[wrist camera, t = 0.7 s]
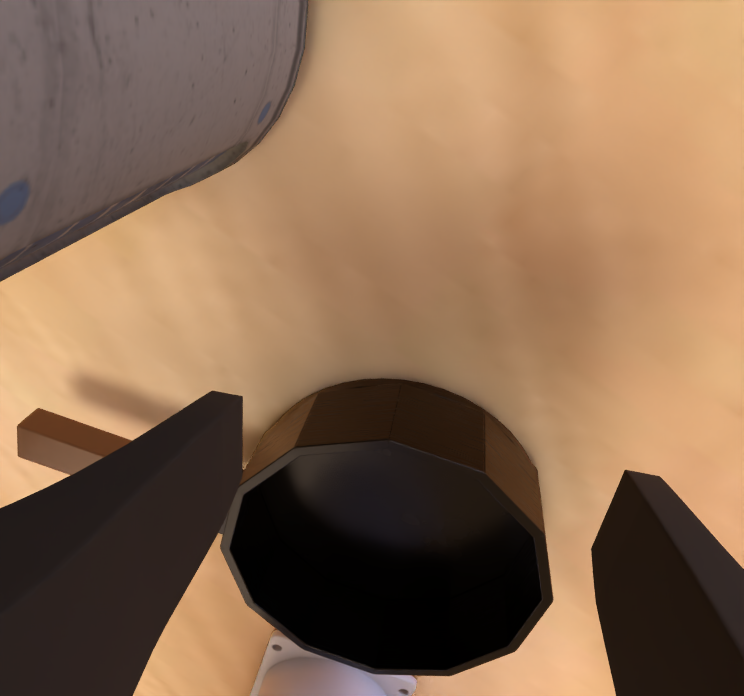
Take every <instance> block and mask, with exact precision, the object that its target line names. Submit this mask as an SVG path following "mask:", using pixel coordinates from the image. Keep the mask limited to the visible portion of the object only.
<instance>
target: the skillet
mask: <svg viewBox="0 0 744 696" xmlns="http://www.w3.org/2000/svg"><path fill="white" fill-rule="evenodd" d="M130 442H131V440H128V439H126V438H123V437H120V436H117V435H114V434H111V433H109V432H106V431H103V430H100V429H97V428H94V427H91V426H89V425H86V424H83V423H80V422H77V421H74V420H72V419H69V418H66V417H63V416H60V415H57V414H54V413H52V412H49V411H46V410H43V409H40V408H37V409H36V410H35V411H34V412H32V413H31V414H30V415H29V416H28V417H27V418H25V419H24V420H23V421H22V422H21V423H20V424H18V426H17V444H18V456H19V457H21V458H23V459H26V460H29V461H32V462H35V463H38V464H41V465H43V466H46V467H49V468H52V469H55V470H58V471H61V472H63V473H66V474H69V475H73V474H75V473H76V472H78V471H80V470H82V469H84V468H85V467H87V466H89V465H91V464H93V463H94V462H96V461H98V460H100V459H101V458H103V457H105V456H107V455H109V454H110V453H112V452H114V451H116V450H118V449H119V448H121V447H123V446H125V445H126V444H128V443H130ZM218 533H220V534H223V537H222V541H221V545H220V547H221V548H220V549H221V551H222V553H223V555H224V557H225V560H226V562H227V564H228V566H229V568H230V570H231V572H232V575H233V577H234V579H235V581H236V583H237V585H238V588H239V590H240V592H241V594H242V596H243V598H244V600H245V603H246V604H247V606H249V607H250V608H251V609H252V610H254V611H255V612H256V613H257V614H259V615H260V616H261V617H262V618H264V619H265V620H266V621H267V622H269V623H270V624H271V625H272V626H274V627H275V628H276V629H277V630H279V631H280V632H281V633H282V634H284V635H285V636H286V637H287V638H289V639H290V640H291V641H292V642H294V643H295V644H296V645H297V646H299V647H300V648H301V649H303V650H305V651H308V652H311V653H314V654H317V655H320V656H322V657H325V658H328V659H331V660H334V661H337V662H340V663H342V664H345V665H348V666H351V667H354V668H357V669H360V670H362V671H365V672H368V673H371V674H375V675H418V676H452V675H455V674H457V673H460V672H463V671H465V670H468V669H471V668H473V667H476V666H478V665H481V664H484V663H486V662H489V661H492V660H494V659H497V658H500V657H502V656H505V655H508V654H510V653H513V652H515V651H516V650H517V649H518V648H519V646H520V645H521V644H522V642H523V641H524V640H525V638H526V637H527V636H528V634H529V633H530V632H531V630H532V629H533V628H534V626H535V625H536V624H537V622H538V621H539V620H540V618H541V617H542V616H543V614H544V613H545V612H546V610H547V609H548V608H549V606H550V605H551V604H552V602H553V592H552V584H551V576H550V568H549V560H548V552H547V544H546V536H545V528H544V520H543V512H542V504H541V496H540V488H539V480H538V472H537V469H536V467H535V466H534V465H533V464H532V463H531V461H530V459H529V457H528V455H527V454H526V452H525V450H524V449H523V447H522V445H521V444H520V443H519V442H518V441H517V439H516V438H515V437H514V436H513V434H512V433H511V432H510V431H509V430H508V429H507V428H506V427H505V426H504V425H503V424H502V423H501V422H499V421H498V420H497V419H496V418H495V417H494V416H492V415H491V414H489V413H488V412H487V411H485V410H484V409H483V408H481V407H480V406H478V405H476V404H474V403H472V402H471V401H469V400H467V399H465V398H463V397H461V396H459V395H456V394H454V393H452V392H449V391H447V390H444V389H441V388H438V387H434V386H431V385H428V384H424V383H419V382H413V381H407V380H399V379H364V380H357V381H351V382H345V383H341V384H338V385H335V386H331V387H328V388H325V389H323V390H321V391H319V392H316V393H314V394H312V395H310V396H308V397H306V398H305V399H303V400H302V401H300V402H299V403H297V404H295V405H294V406H293V407H292V408H291V409H290V410H288V411H287V412H286V413H285V414H284V415H283V416H282V417H281V418H280V420H279V421H278V422H277V423H276V424H275V425H274V426H273V427H271V428H270V429H269V430H267V431H266V432H265V433H264V435H263V437H262V439H261V441H260V442H259V444H258V446H257V448H256V450H255V452H254V454H253V455H252V457H251V459H250V461H249V463H248V465H247V467H246V468H245V470H243V469H242V480H241V482H240V485H239V487H238V490H237V492H236V495H235V497H234V500H233V502H232V505H231V507H230V509H229V512H228V514H227V516H226V519H225V521H224V523H223V525H222V527H221V529H220V531H219V532H218Z"/></svg>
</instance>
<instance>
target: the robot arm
mask: <svg viewBox="0 0 744 696" xmlns="http://www.w3.org/2000/svg"><path fill="white" fill-rule="evenodd" d="M242 426H243V396H238V395H232V394H227V393H222V392H217V391H211V392H209V393H208V394H206V395H204V396H203V397H201V398H199V399H198V400H196V401H195V402H193V403H192V404H190V405H189V406H187V407H185V408H184V409H182V410H181V411H179V412H178V413H176V414H175V415H173V416H171V417H170V418H168V419H167V420H165V421H164V422H162V423H160V424H159V425H157V426H156V427H154V428H152V429H151V430H149V431H148V432H146V433H144V434H143V435H141V436H139V437H138V438H136V439H135V440H133V441H131V442H130V443H128V444H126V445H125V446H123V447H121V448H119V449H118V450H116V451H114V452H112V453H110V454H109V455H107V456H105V457H103V458H101V459H100V460H98V461H96V462H94V463H93V464H91V465H89V466H87V467H85V468H84V469H82V470H80V471H78V472H76V473H75V474H73V475H71V476H69V477H67V478H65V479H63V480H61V481H59V482H57V483H55V484H53V485H51V486H49V487H47V488H45V489H42V490H40V491H38V492H36V493H34V494H31V495H29V496H27V497H25V498H23V499H21V500H18V501H16V502H14V503H12V504H9V505H7V506H5V507H2V508H0V696H133V693H134V691H135V689H136V687H137V685H138V682H139V680H140V678H141V676H142V673H143V671H144V669H145V667H146V665H147V662H148V660H149V658H150V656H151V653H152V651H153V649H154V647H155V645H156V643H157V641H158V639H159V638H160V636H161V634H162V632H163V630H164V628H165V626H166V624H167V622H168V621H169V619H170V617H171V615H172V614H173V612H174V610H175V608H176V607H177V605H178V603H179V601H180V600H181V598H182V596H183V594H184V593H185V591H186V589H187V587H188V586H189V584H190V582H191V580H192V579H193V577H194V575H195V573H196V571H197V570H198V568H199V566H200V564H201V563H202V561H203V559H204V557H205V556H206V554H207V552H208V550H209V549H210V547H211V545H212V543H213V541H214V540H215V538H216V536H217V534H218V532H219V531H220V529H221V527H222V525H223V523H224V521H225V519H226V516H227V514H228V512H229V509H230V507H231V505H232V502H233V500H234V497H235V495H236V492H237V490H238V487H239V485H240V482H241V480H242ZM591 551H592V565H593V578H594V588H595V598H596V605H597V610H598V615H599V619H600V624H601V629H602V633H603V638H604V643H605V647H606V652H607V656H608V661H609V665H610V669H611V674H612V678H613V683H614V687H615V692H616V696H744V569H743V568H742V567H741V566H740V565H739V564H738V563H737V562H736V560H735V559H734V558H733V557H732V556H731V555H730V554H729V553H728V552H727V551H726V549H725V548H724V547H723V546H722V545H721V544H720V543H719V542H718V541H717V539H716V538H715V537H714V536H713V535H712V534H711V533H710V532H709V530H708V529H707V528H706V527H705V526H704V525H703V524H702V522H701V521H700V520H699V519H698V518H697V517H696V516H695V515H694V513H693V512H692V511H691V510H690V509H689V508H688V507H687V505H686V504H685V503H684V502H683V501H682V500H681V499H680V498H679V496H678V495H677V494H676V493H675V492H674V491H673V490H672V489H671V488H670V487H669V485H668V484H667V483H666V482H665V481H664V480H663V479H662V478H661V477H660V476H655V475H650V474H645V473H639V472H634V471H629V470H625V471H624V474H623V476H622V478H621V481H620V483H619V485H618V488H617V490H616V492H615V495H614V497H613V499H612V502H611V504H610V506H609V509H608V511H607V513H606V515H605V518H604V520H603V522H602V525H601V527H600V529H599V532H598V534H597V536H596V539H595V541H594V543H593V546H592V548H591ZM416 683H417V681H416V679H415V678H414V677H413V676H411V675H375V674H371V673H368V672H365V671H362V670H360V669H357V668H354V667H351V666H348V665H345V664H342V663H340V662H337V661H334V660H331V659H328V658H325V657H322V656H320V655H317V654H314V653H311V652H308V651H305V650H303V649H301V648H300V647H299V646H297V645H296V644H295V643H294V642H292V641H291V640H290V639H289V638H287V637H286V636H285V635H284V634H282V633H281V632H280V631H279V630H275V631H273V632H272V634H271V637H270V640H269V642H268V645H267V648H266V651H265V654H264V656H263V659H262V662H261V665H260V668H259V670H258V673H257V676H256V679H255V682H254V684H253V687H252V690H251V693H250V696H412V694H413V693H414V691H415V689H416Z"/></svg>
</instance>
